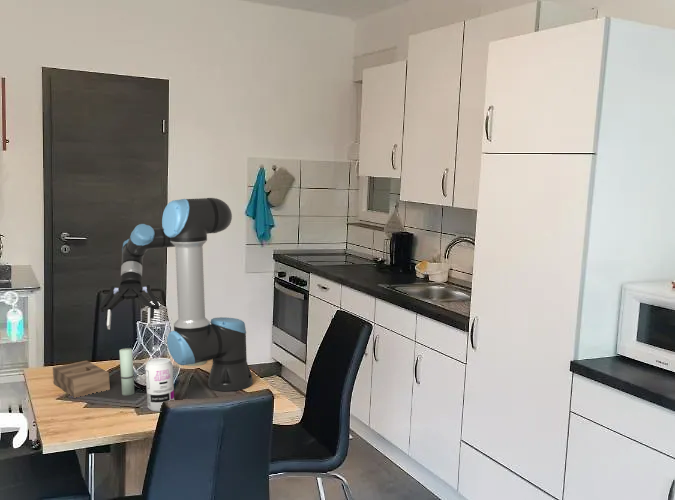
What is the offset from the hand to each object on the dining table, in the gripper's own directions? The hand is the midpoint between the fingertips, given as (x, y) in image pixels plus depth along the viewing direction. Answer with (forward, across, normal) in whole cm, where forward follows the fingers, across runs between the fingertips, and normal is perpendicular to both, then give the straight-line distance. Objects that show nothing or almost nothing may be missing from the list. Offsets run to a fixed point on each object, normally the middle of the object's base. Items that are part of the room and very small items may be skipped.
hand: (128, 326), depth 236 cm
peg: (+23, 0, -6) cm, 23 cm away
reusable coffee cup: (+1, -22, -28) cm, 35 cm away
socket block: (+15, +17, -14) cm, 26 cm away
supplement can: (+34, -12, +6) cm, 37 cm away
